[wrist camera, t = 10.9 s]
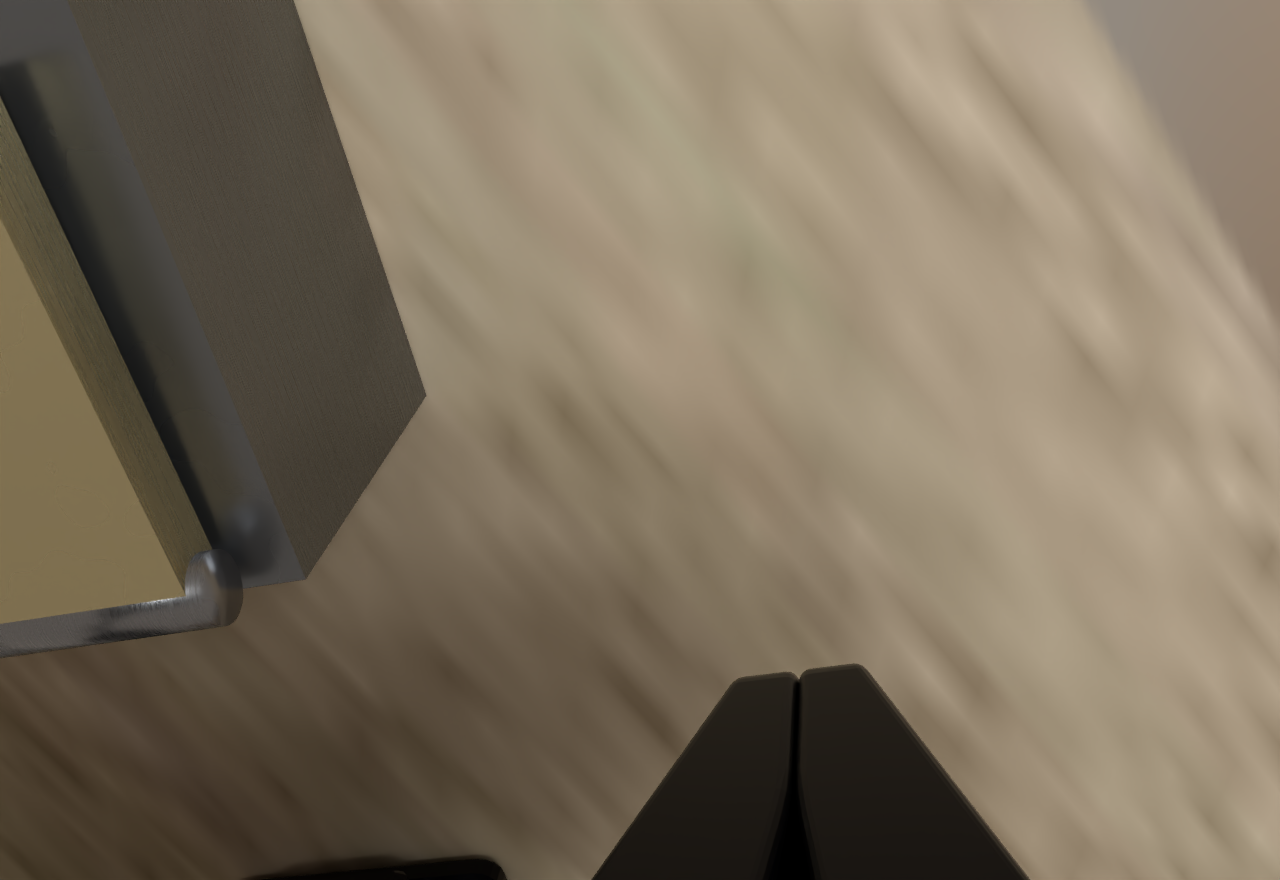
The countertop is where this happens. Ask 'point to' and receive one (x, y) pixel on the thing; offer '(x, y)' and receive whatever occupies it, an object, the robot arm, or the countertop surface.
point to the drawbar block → (220, 254)
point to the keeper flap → (83, 460)
